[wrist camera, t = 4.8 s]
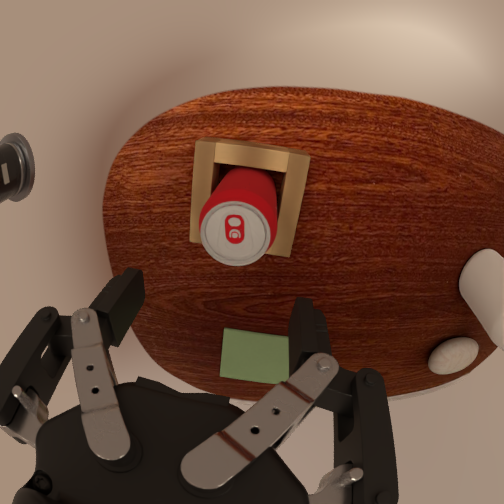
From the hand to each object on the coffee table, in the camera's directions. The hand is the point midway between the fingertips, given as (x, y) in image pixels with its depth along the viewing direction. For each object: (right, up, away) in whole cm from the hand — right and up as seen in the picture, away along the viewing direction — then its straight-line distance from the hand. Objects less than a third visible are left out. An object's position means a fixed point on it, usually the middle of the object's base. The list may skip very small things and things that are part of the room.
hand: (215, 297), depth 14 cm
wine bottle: (+38, -1, +19) cm, 43 cm away
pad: (+5, -16, +30) cm, 35 cm away
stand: (+1, +9, +17) cm, 19 cm away
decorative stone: (+41, -16, +28) cm, 52 cm away
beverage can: (+2, +9, +17) cm, 19 cm away
